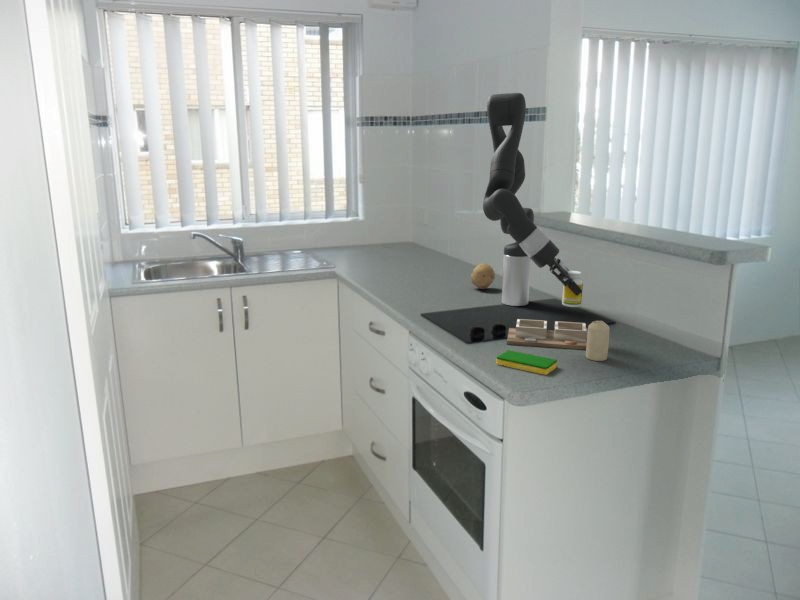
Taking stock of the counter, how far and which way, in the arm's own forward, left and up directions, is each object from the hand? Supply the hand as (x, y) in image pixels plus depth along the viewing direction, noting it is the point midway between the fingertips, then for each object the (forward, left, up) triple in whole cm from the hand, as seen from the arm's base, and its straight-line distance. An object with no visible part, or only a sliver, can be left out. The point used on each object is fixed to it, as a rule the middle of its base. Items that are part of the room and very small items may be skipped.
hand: (579, 291), depth 188 cm
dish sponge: (+25, -13, -15) cm, 32 cm away
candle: (+15, +5, -15) cm, 22 cm away
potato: (-57, -32, -15) cm, 67 cm away
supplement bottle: (0, -2, -4) cm, 5 cm away
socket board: (+2, -7, -14) cm, 16 cm away
